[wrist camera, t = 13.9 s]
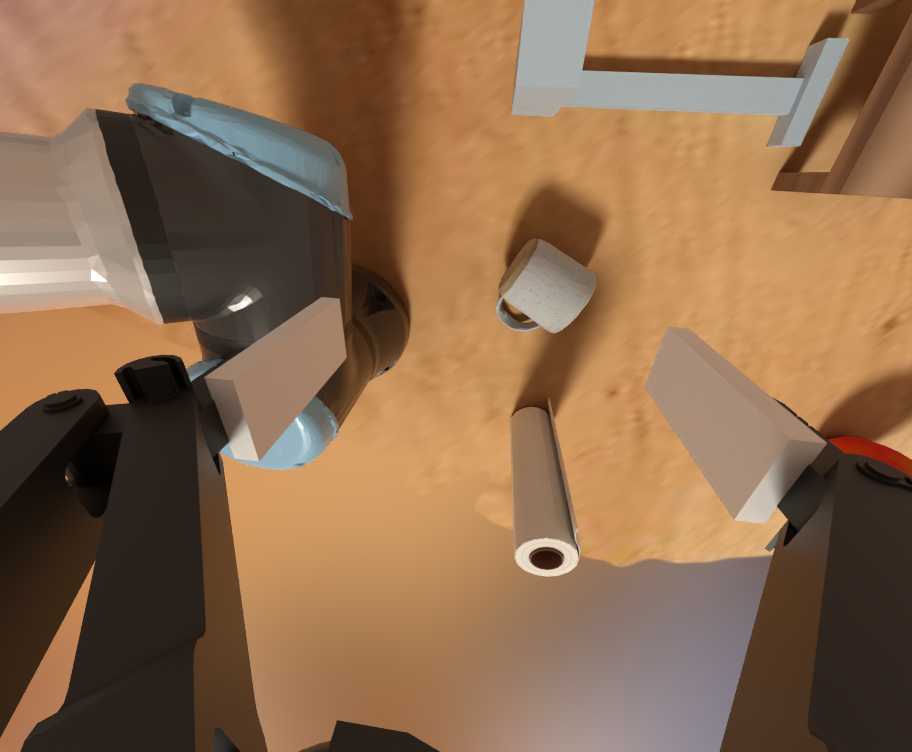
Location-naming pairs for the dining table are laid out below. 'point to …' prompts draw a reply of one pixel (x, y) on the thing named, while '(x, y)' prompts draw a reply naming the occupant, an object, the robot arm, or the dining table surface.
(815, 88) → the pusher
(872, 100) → the walnut table
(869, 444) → the apple
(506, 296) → the ceramic mug
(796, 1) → the dining table surface
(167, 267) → the robot arm
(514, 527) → the paper towel roll
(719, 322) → the dining table surface
